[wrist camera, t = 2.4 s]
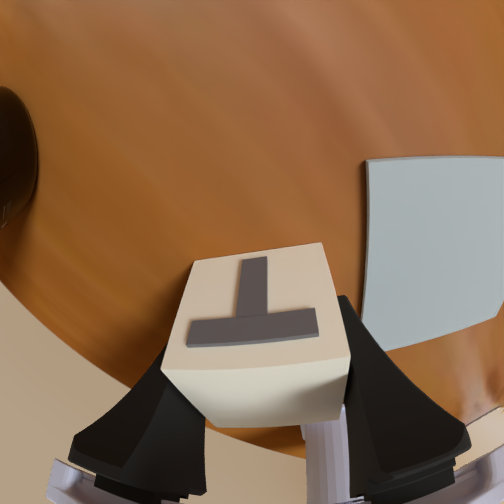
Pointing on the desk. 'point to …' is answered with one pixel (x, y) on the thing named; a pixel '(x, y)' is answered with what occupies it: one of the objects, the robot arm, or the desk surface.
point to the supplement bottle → (15, 156)
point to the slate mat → (432, 246)
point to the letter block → (261, 340)
